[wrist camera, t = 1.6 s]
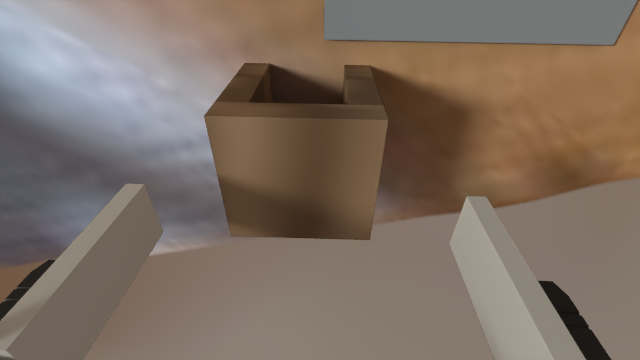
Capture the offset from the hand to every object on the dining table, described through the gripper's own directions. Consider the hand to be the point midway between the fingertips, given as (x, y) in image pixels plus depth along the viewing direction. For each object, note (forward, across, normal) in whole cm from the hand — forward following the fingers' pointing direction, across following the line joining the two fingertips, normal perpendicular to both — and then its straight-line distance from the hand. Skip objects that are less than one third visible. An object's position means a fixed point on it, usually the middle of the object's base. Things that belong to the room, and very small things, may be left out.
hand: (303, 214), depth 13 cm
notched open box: (+9, -1, 0) cm, 9 cm away
